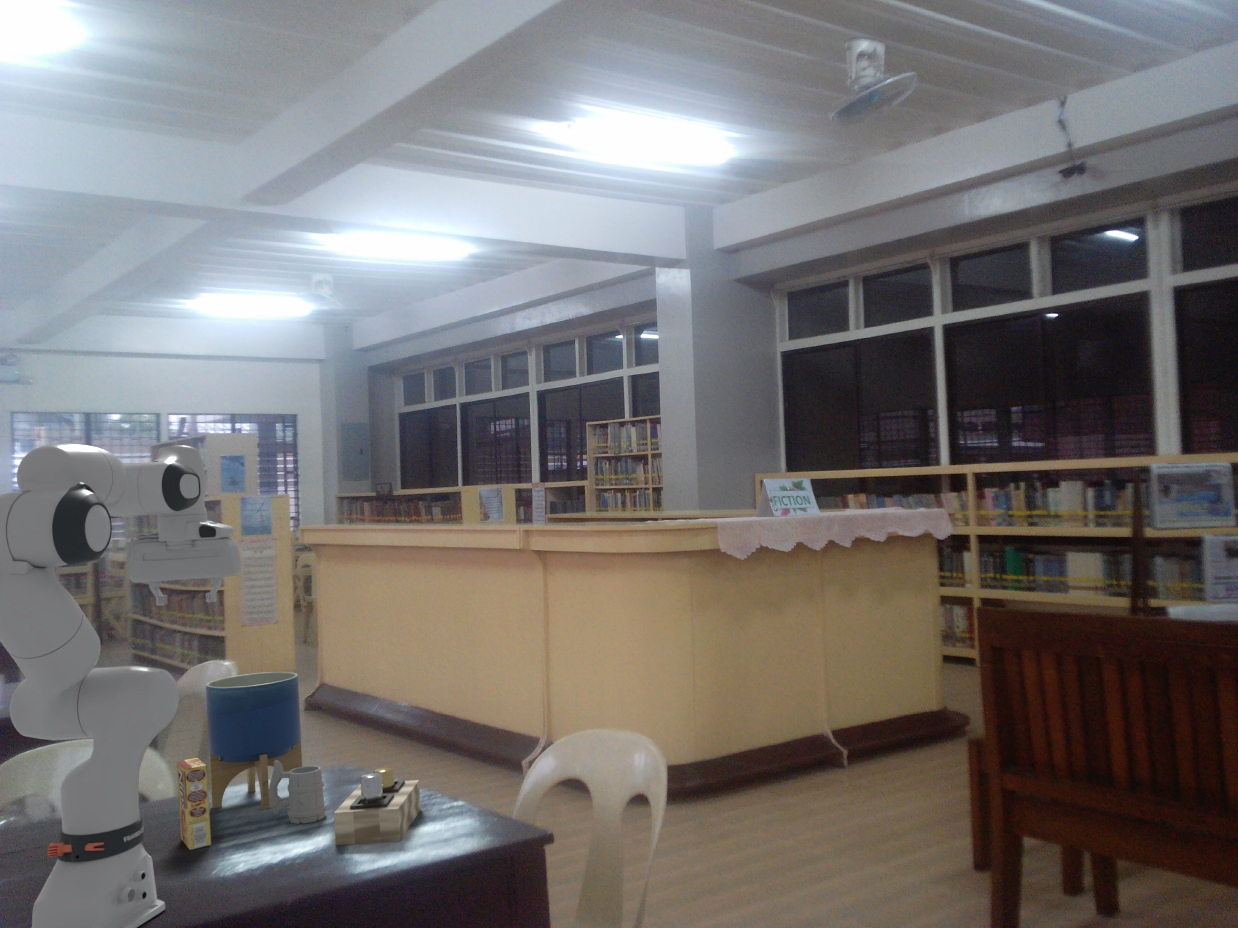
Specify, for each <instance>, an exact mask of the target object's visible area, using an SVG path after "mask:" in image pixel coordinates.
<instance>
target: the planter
mask: <svg viewBox="0 0 1238 928" xmlns="http://www.w3.org/2000/svg"><path fill="white" fill-rule="evenodd" d="M299 695H300V694H299V675H298V673H296V672H291V671H271V672H270V671H269V672H267V671H266V672H254V673H247V674H240V675H233V676H228V677H227V676H226V677H223V678H218V679H214V680H212V681H209V682H207V683H206V684H205V696H206V714H207V715H206V717H207V736H208V753H209V754H208V756H209V757H208V759H209V777H210V780H209V781H210V798H211V799H210V800H211V808H212V809H218V808H222V807H223V797H224V795H225V792H226V789H227V787H228V786H229V785H230V783H231V782H232V780H233V779H234V778H236V777H237V776H238V775H239V774H241V773H242V772H244V771H246V779H247V791H248V793H252V792H253V793H255V792H256V777H257V780H258V786H259V790H260V791H259V792H260V802H261V803H260V804H261V809H262V810H269V809H271V807H270V804H269V795H268V790H269V785H270V782H269V769H268V768H269V767H273V768H274V761H275V760H278V761H280V763H281V764H282V766H283V771H284V772H289V771H290V770H292V769H295V768H298V767H303V757H302V756H303V755H302V730H301V729H302V728H301V713H300V712H301V711H300V696H299Z"/></svg>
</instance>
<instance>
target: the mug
mask: <svg viewBox="0 0 1238 928" xmlns="http://www.w3.org/2000/svg"><path fill="white" fill-rule="evenodd" d="M322 773H323V772H322V767H321V766H318V765H308V766H307V765H306V766H302V767H298V768H295V769H292V770H290V771H289V772H284V771H283V766H282V764H281V763H280V761H278V760H275V761H274V767H273V771H272V775H271V778H270V782H269V790H268V795H269V804H270V809H272V810H273V813H274V814H275V815H278V814H280V812H281V811H282V810H283V809H284V808H285V807H288V808H287V816H288V819H289V822H290V824H295V825H296V824H297V825H298V824H308V823H313V822H316V821H321V820H322V819H324V818H325V817H326V811H327V804H326V803H325V796H324V786H325V784H324V780H323V776H322ZM282 779H288V785H287V792H288V797H287V798H284V799H282V798H281V797H280V795H278V786H279V783H281V781H282Z"/></svg>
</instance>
